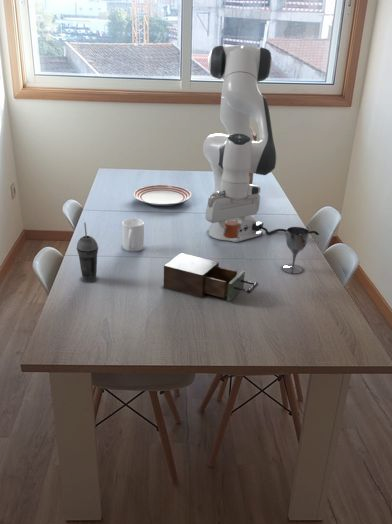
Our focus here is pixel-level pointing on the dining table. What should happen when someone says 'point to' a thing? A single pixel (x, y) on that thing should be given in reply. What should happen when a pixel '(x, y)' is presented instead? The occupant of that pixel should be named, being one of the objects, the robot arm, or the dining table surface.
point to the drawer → (226, 283)
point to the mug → (133, 234)
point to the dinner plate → (162, 195)
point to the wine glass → (295, 245)
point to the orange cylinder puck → (231, 229)
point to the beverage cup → (88, 256)
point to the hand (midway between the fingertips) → (230, 230)
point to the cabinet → (187, 274)
